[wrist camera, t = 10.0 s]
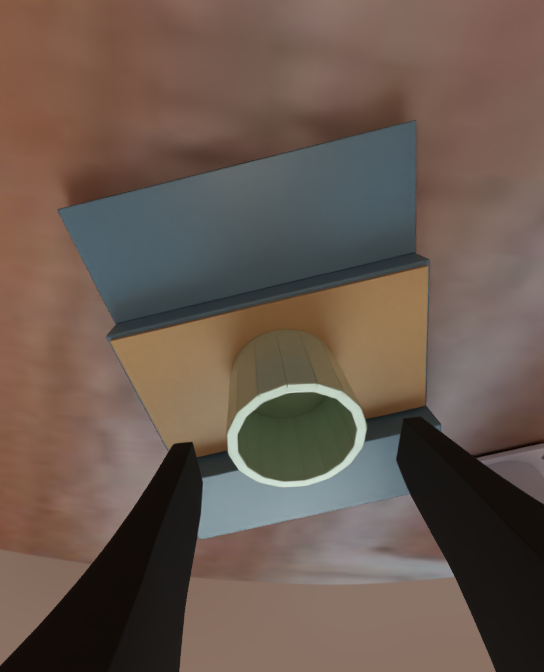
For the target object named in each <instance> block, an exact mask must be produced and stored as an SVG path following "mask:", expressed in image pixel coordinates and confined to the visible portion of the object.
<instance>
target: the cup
mask: <svg viewBox="0 0 544 672" xmlns="http://www.w3.org/2000/svg"><path fill="white" fill-rule="evenodd" d="M366 432H367V422H366V419H365V416H364V413H363V410H362V407H361V405H360V403H359V401H358V399H357V397H356V396H355V394H354V392H353V390H352V388H351V386H350V384H349V382H348V380H347V378H346V376H345V374H344V372H343V370H342V369H341V367H340V365H339V363H338V361H337V359H336V357H335V355H334V354H333V353H332V351H331V350H330V348H329V347H328V346H327V345H326V344H325V343H324V342H323V341H322V340H321V339H319V338H318V337H316V336H314V335H312V334H310V333H308V332H304V331H300V330H294V329H282V330H275V331H271V332H268V333H265V334H262V335H260V336H258V337H256V338H255V339H253V340H252V341H250V342H249V343H248V344H247V345H245V346H244V348H243V349H242V350H241V351H240V352H239V354H238V355H237V357H236V359H235V361H234V363H233V366H232V370H231V375H230V384H229V400H228V415H227V430H226V437H227V452H228V455H229V456H230V458H231V459H232V461H233V462H234V464H235V465H236V467H237V468H238V470H239V471H240V472H242V473H243V474H245V475H247V476H248V477H250V478H251V479H253V480H255V481H256V482H259V483H262V484H267V485H271V486H276V487H282V488H285V487H300V486H306V485H307V486H308V485H311V484H314V483H317V482H320V481H323V480H326V479H329V478H331V477H333V476H334V475H336V474H337V473H339V472H340V471H342V470H343V469H344V468H346V467H347V466H349V465H350V464H351V463H352V461H353V460H354V459H355V457H356V456H357V455H358V453H359V452H360V451H361V449H362V448H363V446H364V441H365V437H366Z"/></svg>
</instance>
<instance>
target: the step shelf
mask: <svg viewBox="0 0 544 672" xmlns="http://www.w3.org/2000/svg"><path fill="white" fill-rule="evenodd" d="M58 213H59V215H60V217H61V218H62V220H63V222H64V224H65V226H66V228H67V230H68V232H69V234H70V236H71V238H72V240H73V242H74V244H75V246H76V248H77V250H78V252H79V254H80V256H81V258H82V260H83V261H84V263H85V265H86V267H87V269H88V271H89V273H90V275H91V277H92V279H93V281H94V283H95V285H96V287H97V289H98V291H99V293H100V295H101V297H102V299H103V301H104V303H105V305H106V306H107V308H108V310H109V312H110V314H111V316H112V318H113V320H114V322H115V324H116V325H115V326H114V328H113V329H112V330H111V331H110V332H109V333H108V334H107V336H106V337H107V340H108V341H109V343H110V345H111V347H112V349H113V351H114V352H115V354H116V356H117V358H118V360H119V362H120V364H121V365H122V367H123V369H124V371H125V373H126V375H127V377H128V378H129V380H130V382H131V384H132V386H133V388H134V390H135V391H136V393H137V395H138V397H139V399H140V401H141V403H142V404H143V406H144V408H145V410H146V412H147V414H148V416H149V417H150V419H151V421H152V423H153V425H154V427H155V428H156V430H157V432H158V434H159V436H160V438H161V440H162V441H163V443H164V445H165V447H166V449H167V451H168V452H169V450H170V448H171V447H172V445H173V444H175V443H184V442H193V445H194V449H195V453H196V457H197V461H198V465H199V469H200V473H201V477H202V481H203V491H202V506H201V517H200V523H199V529H198V535H197V536H198V537H199V539H205V538H210V537H215V536H219V535H224V534H228V533H233V532H238V531H242V530H247V529H251V528H256V527H260V526H265V525H270V524H274V523H279V522H283V521H288V520H293V519H297V518H302V517H306V516H311V515H315V514H320V513H325V512H329V511H334V510H338V509H343V508H348V507H352V506H357V505H361V504H366V503H370V502H375V501H380V500H384V499H389V498H393V497H398V496H402V495H407V494H410V493H409V491H408V489H407V486H406V484H405V482H404V479H403V477H402V474H401V472H400V469H399V467H398V464H397V462H396V457H397V451H398V445H399V439H400V434H401V428H402V422H403V418H411V417H420V416H421V417H422V418H423V419H425V420H426V421H427V422H429V423H430V424H431V425H433V426H434V427H435V428H437V429H438V430H439V431H440V432H441V423H440V422H439V421H438V420H437V418H436V417H435V416H434V415H433V414H432V412H431V411H430V410H429V409H428V407H427V406H426V389H427V350H428V310H429V271H430V260H429V259H427V258H425V257H423V256H421V255H418V254H416V253H415V252H416V120H414V121H410V122H406V123H402V124H398V125H394V126H390V127H386V128H382V129H378V130H374V131H370V132H366V133H362V134H358V135H354V136H350V137H346V138H342V139H338V140H334V141H330V142H326V143H322V144H317V145H313V146H309V147H305V148H301V149H297V150H293V151H289V152H285V153H281V154H277V155H273V156H269V157H265V158H261V159H257V160H253V161H249V162H245V163H241V164H237V165H233V166H229V167H225V168H221V169H217V170H213V171H209V172H205V173H201V174H197V175H193V176H189V177H185V178H181V179H177V180H173V181H169V182H165V183H161V184H157V185H153V186H149V187H145V188H141V189H137V190H133V191H129V192H125V193H121V194H117V195H113V196H109V197H105V198H101V199H97V200H93V201H89V202H85V203H81V204H77V205H73V206H69V207H65V208H61V209H58ZM282 329H294V330H300V331H304V332H308V333H310V334H312V335H314V336H316V337H318V338H319V339H321V340H322V341H323V342H324V343H325V344H326V345H327V346H328V347H329V348H330V350H331V351H332V353H333V354H334V355H335V357H336V359H337V361H338V363H339V365H340V367H341V369H342V370H343V372H344V374H345V376H346V378H347V380H348V382H349V384H350V386H351V388H352V390H353V392H354V394H355V396H356V397H357V399H358V401H359V403H360V405H361V407H362V410H363V413H364V416H365V419H366V422H367V432H366V437H365V441H364V446H363V448H362V449H361V451H360V452H359V453H358V455H357V456H356V457H355V459H354V460H353V461H352V463H351V464H350V465H349V466H347V467H346V468H344V469H343V470H342V471H340V472H339V473H337V474H336V475H334V476H333V477H331V478H329V479H326V480H323V481H320V482H317V483H314V484H311V485H308V486H307V485H306V486H300V487H285V488H282V487H276V486H271V485H267V484H262V483H259V482H256V481H255V480H253V479H251V478H250V477H248V476H247V475H245V474H243V473H242V472H240V471H239V470H238V468H237V467H236V465H235V464H234V462H233V461H232V459H231V458H230V456H229V455H228V452H227V437H226V430H227V415H228V400H229V384H230V375H231V370H232V366H233V363H234V361H235V359H236V357H237V355H238V354H239V352H240V351H241V350H242V349H243V348H244V346H245V345H247V344H248V343H249V342H250V341H252V340H253V339H255V338H256V337H258V336H260V335H262V334H265V333H268V332H271V331H275V330H282Z"/></svg>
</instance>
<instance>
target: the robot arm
mask: <svg viewBox="0 0 544 672" xmlns="http://www.w3.org/2000/svg"><path fill="white" fill-rule="evenodd" d="M396 462H397V464H398V467H399V469H400V472H401V474H402V477H403V479H404V482H405V484H406V486H407V489H408V491H409V493H410V495H411V496H412V498H413V500H414V502H415V504H416V506H417V508H418V509H419V511H420V513H421V515H422V517H423V519H424V520H425V522H426V524H427V526H428V528H429V529H430V531H431V533H432V535H433V537H434V539H435V541H436V542H437V544H438V546H439V548H440V549H441V551H442V553H443V555H444V557H445V558H446V560H447V562H448V564H449V566H450V568H451V570H452V572H453V574H454V576H455V578H456V580H457V582H458V585H459V587H460V589H461V591H462V593H463V596H464V598H465V600H466V603H467V605H468V607H469V609H470V611H471V614H472V616H473V618H474V620H475V623H476V625H477V628H478V630H479V632H480V634H481V637H482V639H483V642H484V644H485V646H486V649H487V651H488V653H489V656H490V658H491V661H492V663H493V665H494V668H495V671H496V672H544V443H542V444H537V445H533V446H528V447H524V448H519V449H515V450H510V451H505V452H501V453H496V454H492V455H487V456H483V457H478V458H475V457H474V456H472V455H471V454H469V453H468V452H467V451H465V450H464V449H463V448H461V447H460V446H459V445H458V444H456V443H455V442H454V441H452V440H451V439H450V438H448V437H447V436H446V435H444V434H443V433H442V432H440V431H439V430H438V429H437V428H435V427H434V426H433V425H431V424H430V423H429V422H427V421H426V420H425V419H423V418H422V417H421V416H420V417H411V418H403V422H402V428H401V434H400V439H399V445H398V451H397V457H396ZM202 491H203V481H202V477H201V473H200V469H199V465H198V461H197V457H196V453H195V449H194V445H193V442H184V443H175V444H173V445H172V447H171V448H170V450H169V452H168V454H167V455H166V457H165V459H164V460H163V462H162V464H161V465H160V467H159V469H158V470H157V472H156V474H155V475H154V477H153V478H152V480H151V482H150V483H149V485H148V486H147V488H146V489H145V491H144V492H143V494H142V496H141V497H140V499H139V500H138V502H137V503H136V505H135V506H134V508H133V509H132V511H131V512H130V513H129V515H128V516H127V518H126V519H125V520H124V522H123V523H122V525H121V526H120V527H119V529H118V530H117V532H116V533H115V534H114V536H113V537H112V538H111V540H110V541H109V542H108V544H107V545H106V546H105V548H104V549H103V550H102V552H101V553H100V554H99V555H98V557H97V558H96V559H95V561H94V562H93V563H92V564H91V565H90V567H89V568H88V569H87V570H86V572H85V573H84V574H83V575H82V577H81V578H80V579H79V580H78V581H77V583H76V584H75V585H74V586H73V587H72V588H71V590H70V591H69V592H68V593H67V594H66V595H65V596H64V598H63V599H62V600H61V601H60V602H59V603H58V605H57V606H56V607H55V608H54V609H53V610H52V611H51V612H50V614H49V615H48V616H47V617H46V618H45V619H44V620H43V621H42V622H41V624H40V625H39V626H38V627H37V628H36V629H35V630H34V631H33V632H32V633H31V634H30V635H29V636H28V637H27V638H26V639H25V640H24V642H23V643H22V644H21V645H20V646H19V647H18V648H17V649H16V650H15V651H14V652H13V653H12V654H11V655H10V656H9V657H8V658H7V659H6V660H5V662H3V663H2V665H1V666H0V672H179V668H180V656H181V645H182V634H183V624H184V613H185V606H186V599H187V592H188V587H189V581H190V575H191V569H192V564H193V558H194V552H195V546H196V541H197V535H198V529H199V523H200V517H201V506H202Z"/></svg>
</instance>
